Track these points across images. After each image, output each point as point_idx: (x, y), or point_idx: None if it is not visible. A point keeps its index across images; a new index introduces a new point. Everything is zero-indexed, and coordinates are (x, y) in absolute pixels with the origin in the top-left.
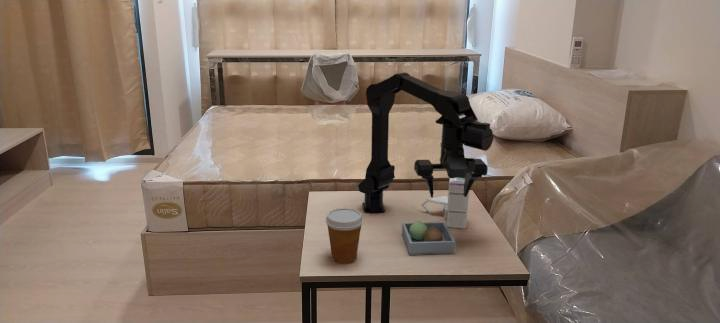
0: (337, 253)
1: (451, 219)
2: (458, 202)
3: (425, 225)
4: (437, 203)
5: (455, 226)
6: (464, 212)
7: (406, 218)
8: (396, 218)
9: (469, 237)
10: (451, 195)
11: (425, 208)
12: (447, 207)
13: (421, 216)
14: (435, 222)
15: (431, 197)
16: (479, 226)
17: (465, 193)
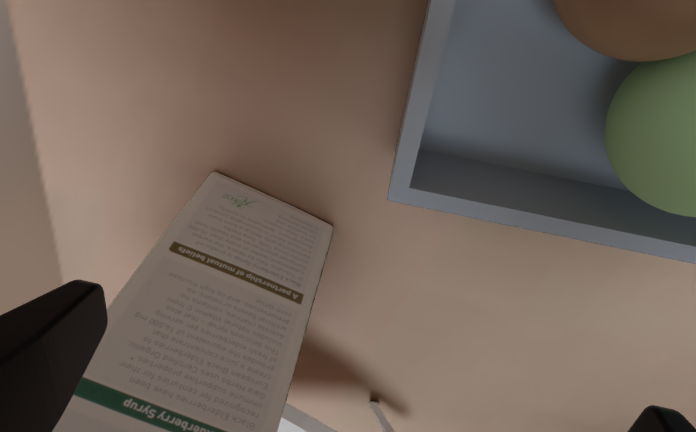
0: None
1: (295, 247)
2: (199, 336)
3: (668, 129)
4: (324, 425)
5: (278, 204)
6: (179, 250)
7: (535, 379)
8: (596, 395)
9: (227, 38)
10: (246, 424)
11: (385, 422)
12: None
13: (431, 373)
14: (469, 211)
15: (677, 413)
16: (113, 174)
17: (51, 320)
